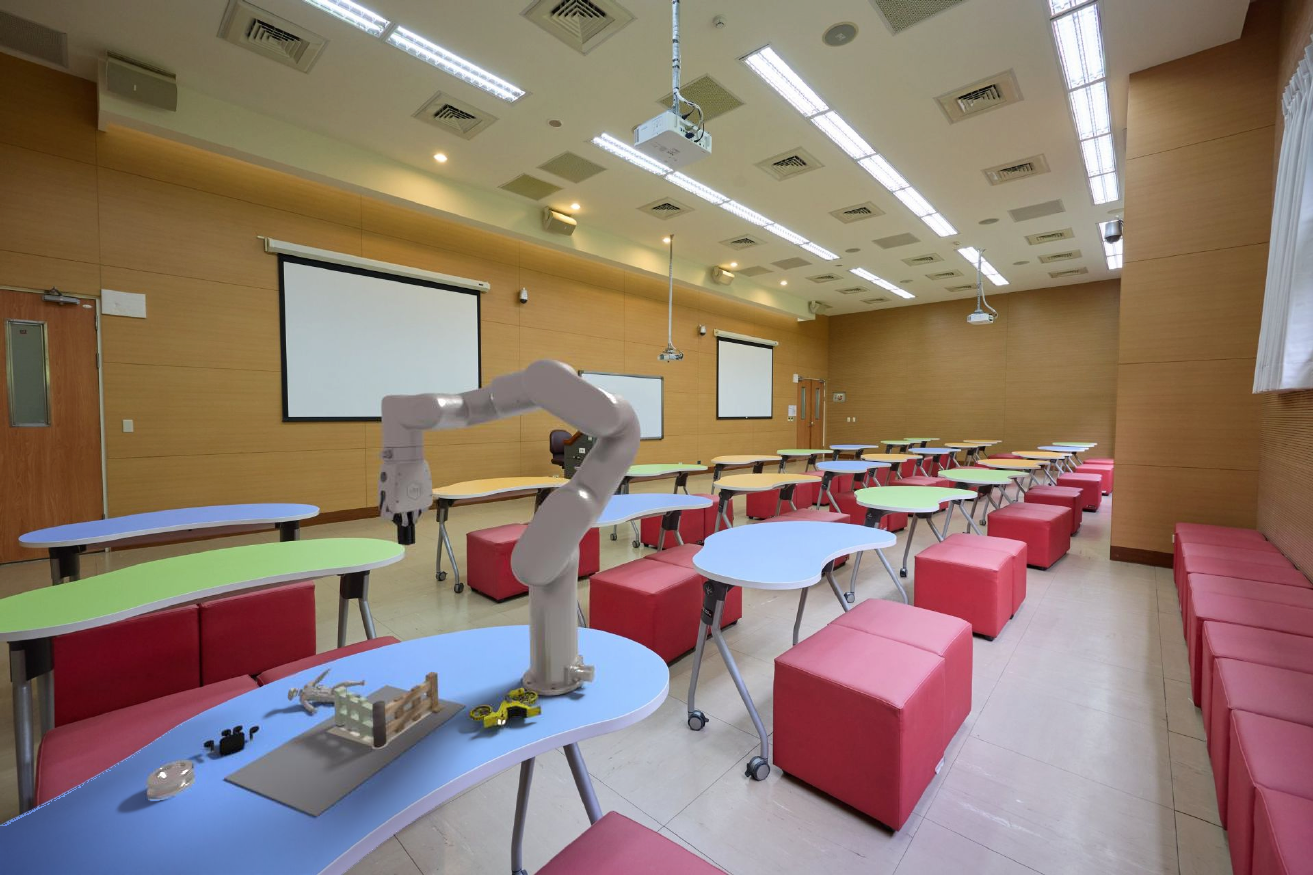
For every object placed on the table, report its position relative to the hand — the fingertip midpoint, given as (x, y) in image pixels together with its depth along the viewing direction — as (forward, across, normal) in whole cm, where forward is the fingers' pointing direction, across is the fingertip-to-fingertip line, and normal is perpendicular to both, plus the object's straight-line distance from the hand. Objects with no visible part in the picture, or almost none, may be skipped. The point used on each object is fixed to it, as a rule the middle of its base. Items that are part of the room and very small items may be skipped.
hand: (406, 543), depth 107 cm
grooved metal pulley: (+27, -38, +4) cm, 47 cm away
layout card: (+27, -20, -11) cm, 35 cm away
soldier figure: (+27, -14, +5) cm, 31 cm away
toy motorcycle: (+28, -6, -30) cm, 41 cm away
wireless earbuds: (+28, -29, +6) cm, 41 cm away
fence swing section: (+26, -19, -9) cm, 34 cm away
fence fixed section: (+27, -14, -16) cm, 34 cm away
